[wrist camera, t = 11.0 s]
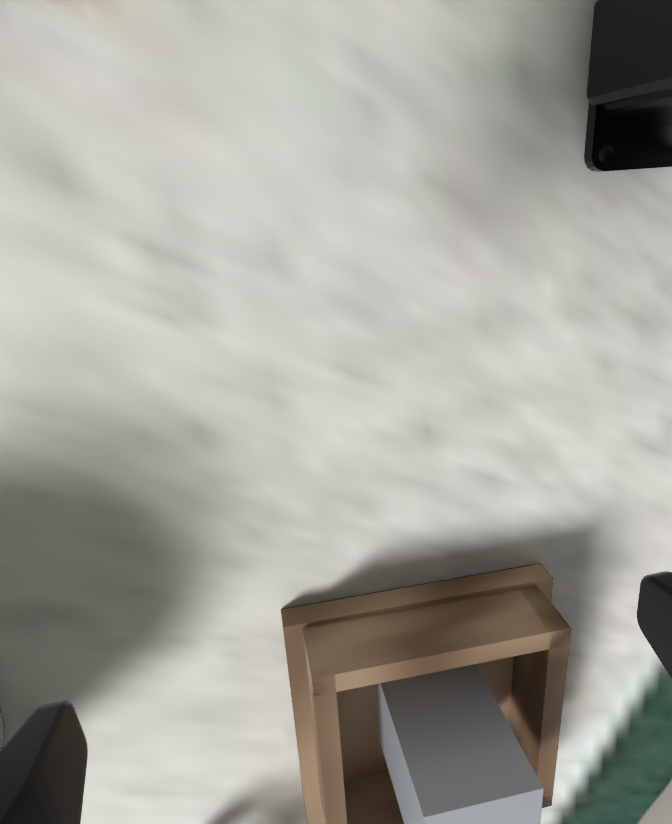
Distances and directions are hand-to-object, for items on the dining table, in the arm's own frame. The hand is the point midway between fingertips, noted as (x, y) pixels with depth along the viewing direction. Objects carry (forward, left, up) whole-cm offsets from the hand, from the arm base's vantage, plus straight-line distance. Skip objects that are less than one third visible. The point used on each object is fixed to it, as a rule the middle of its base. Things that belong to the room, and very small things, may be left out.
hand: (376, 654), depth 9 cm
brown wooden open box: (-4, +16, -12) cm, 20 cm away
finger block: (-4, +14, -11) cm, 18 cm away
